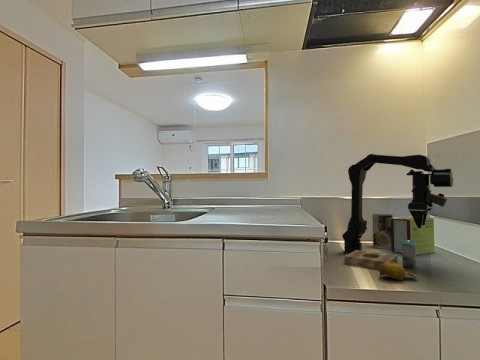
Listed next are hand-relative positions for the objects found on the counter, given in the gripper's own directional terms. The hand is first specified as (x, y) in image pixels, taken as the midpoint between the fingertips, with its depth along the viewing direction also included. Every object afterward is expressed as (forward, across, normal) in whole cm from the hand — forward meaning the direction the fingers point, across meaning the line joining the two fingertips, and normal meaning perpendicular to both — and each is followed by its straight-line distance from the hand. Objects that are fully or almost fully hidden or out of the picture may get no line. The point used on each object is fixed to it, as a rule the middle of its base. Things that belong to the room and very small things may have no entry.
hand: (421, 226), depth 121 cm
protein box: (+15, +20, +6) cm, 26 cm away
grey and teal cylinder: (+14, -10, +3) cm, 18 cm away
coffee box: (+15, +22, +19) cm, 33 cm away
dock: (+14, -12, +16) cm, 24 cm away
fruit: (+15, -26, +4) cm, 31 cm away
